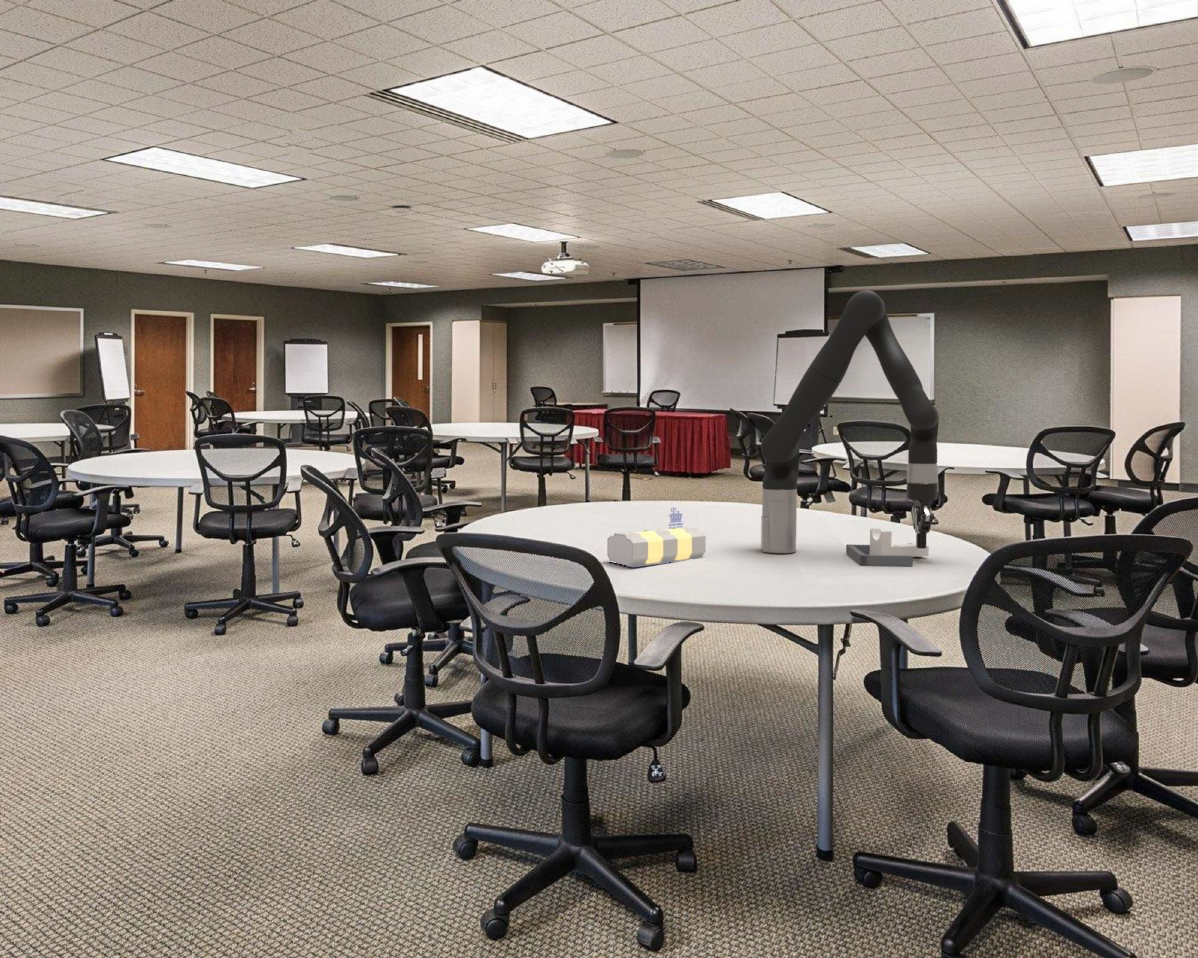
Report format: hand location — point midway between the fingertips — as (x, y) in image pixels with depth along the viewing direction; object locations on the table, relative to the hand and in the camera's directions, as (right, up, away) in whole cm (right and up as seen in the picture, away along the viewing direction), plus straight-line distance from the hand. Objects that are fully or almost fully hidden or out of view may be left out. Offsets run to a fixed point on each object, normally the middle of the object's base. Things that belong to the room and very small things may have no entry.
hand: (921, 548), depth 233 cm
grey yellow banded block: (-68, -4, +3) cm, 68 cm away
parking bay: (-10, -3, +1) cm, 11 cm away
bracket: (-4, -3, +6) cm, 8 cm away
